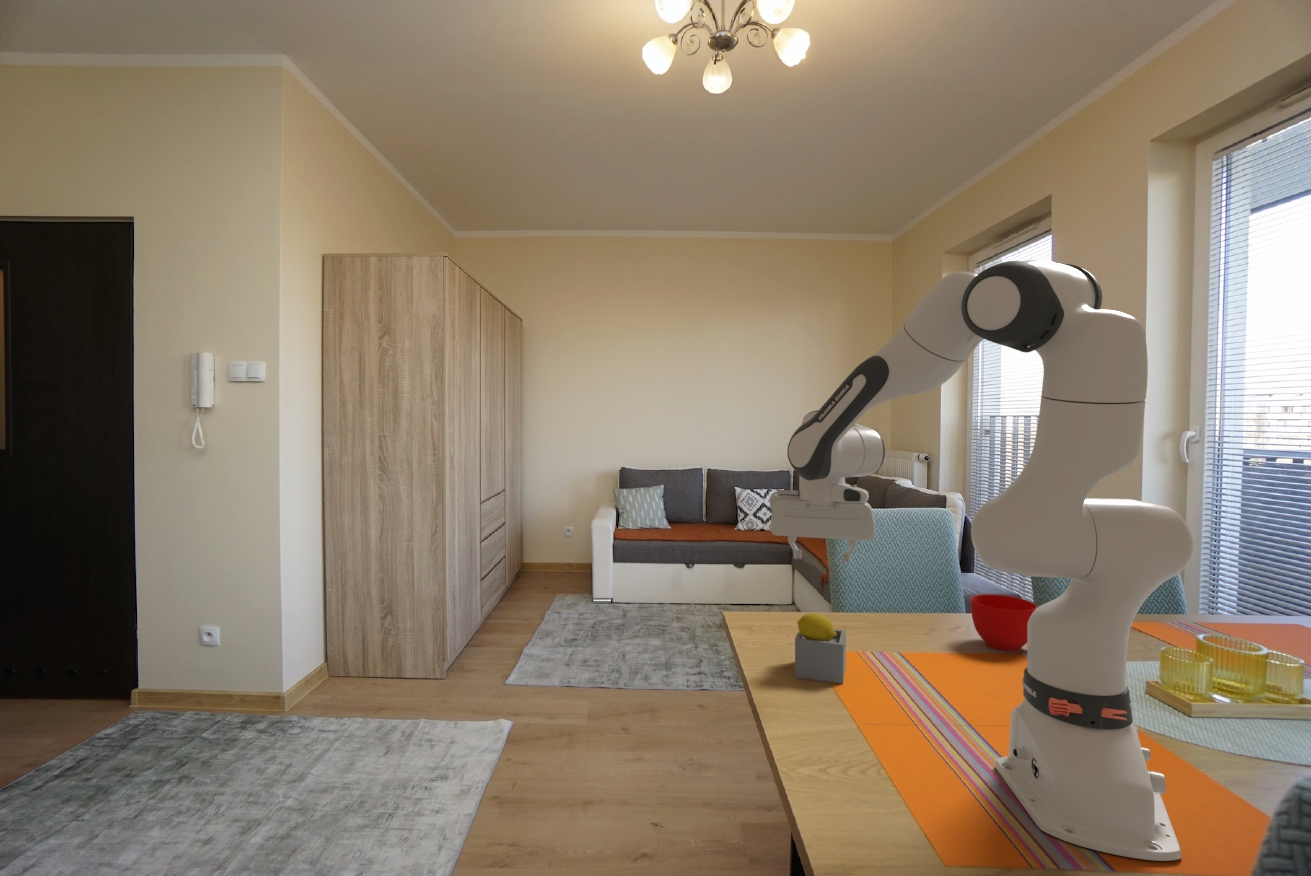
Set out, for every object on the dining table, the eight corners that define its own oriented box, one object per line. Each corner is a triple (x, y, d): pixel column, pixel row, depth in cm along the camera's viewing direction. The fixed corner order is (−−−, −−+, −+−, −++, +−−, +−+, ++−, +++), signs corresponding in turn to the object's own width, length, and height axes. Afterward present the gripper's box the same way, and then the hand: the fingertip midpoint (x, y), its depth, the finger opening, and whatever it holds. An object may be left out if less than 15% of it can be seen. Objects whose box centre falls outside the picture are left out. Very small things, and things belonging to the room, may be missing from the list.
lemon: (840, 615, 120) (801, 602, 121) (842, 634, 115) (802, 620, 116) (830, 635, 123) (792, 623, 123) (832, 655, 118) (792, 641, 118)
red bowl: (1066, 662, 125) (1066, 614, 125) (976, 652, 131) (976, 607, 131) (1047, 642, 138) (1048, 598, 138) (966, 634, 143) (966, 592, 143)
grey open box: (843, 684, 114) (843, 644, 114) (794, 677, 117) (795, 639, 117) (845, 666, 123) (845, 630, 123) (800, 661, 126) (800, 625, 126)
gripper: (767, 490, 121) (766, 559, 120) (875, 494, 113) (875, 567, 113) (772, 488, 127) (772, 554, 126) (875, 491, 119) (875, 561, 119)
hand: (821, 560), depth 120 cm, fingers open, 8 cm apart
